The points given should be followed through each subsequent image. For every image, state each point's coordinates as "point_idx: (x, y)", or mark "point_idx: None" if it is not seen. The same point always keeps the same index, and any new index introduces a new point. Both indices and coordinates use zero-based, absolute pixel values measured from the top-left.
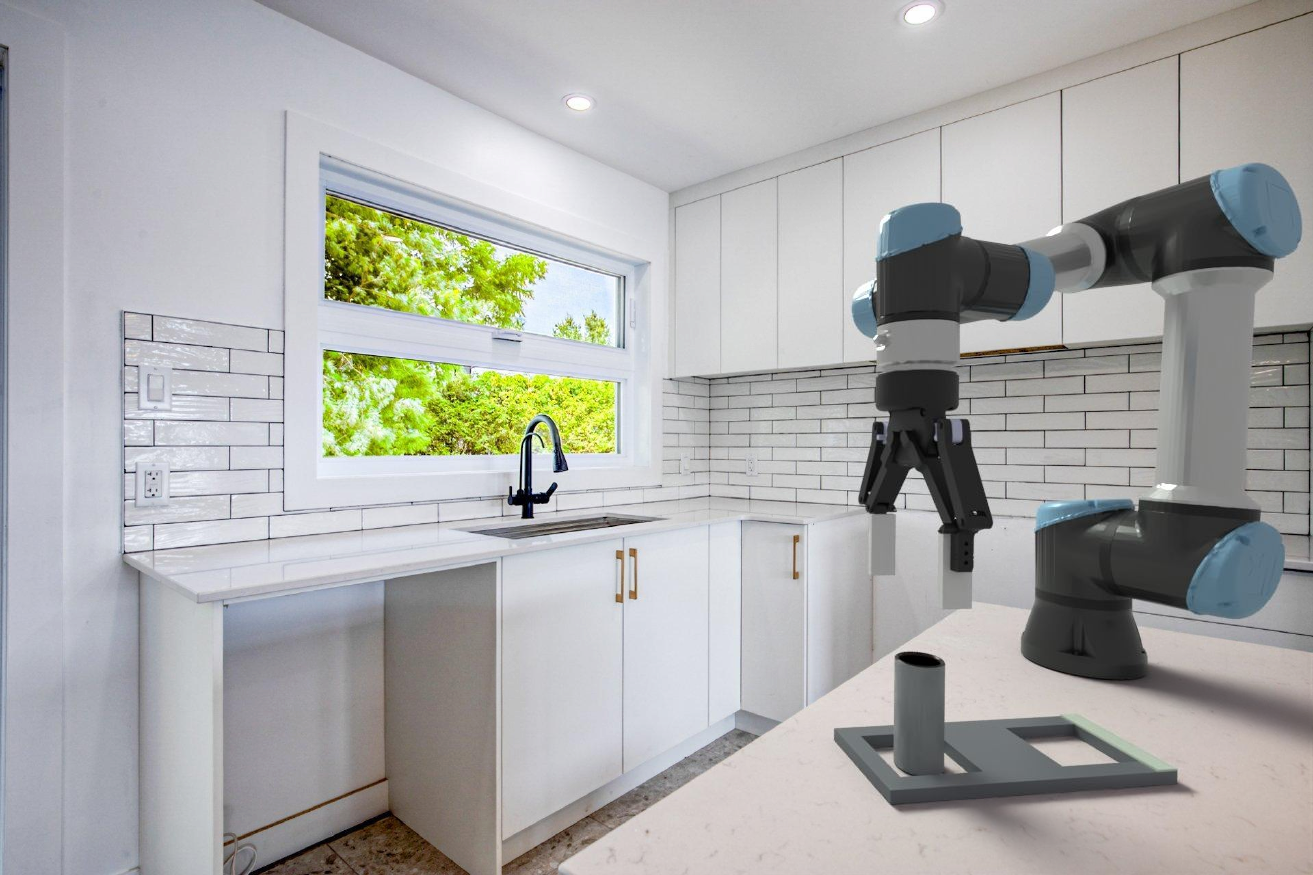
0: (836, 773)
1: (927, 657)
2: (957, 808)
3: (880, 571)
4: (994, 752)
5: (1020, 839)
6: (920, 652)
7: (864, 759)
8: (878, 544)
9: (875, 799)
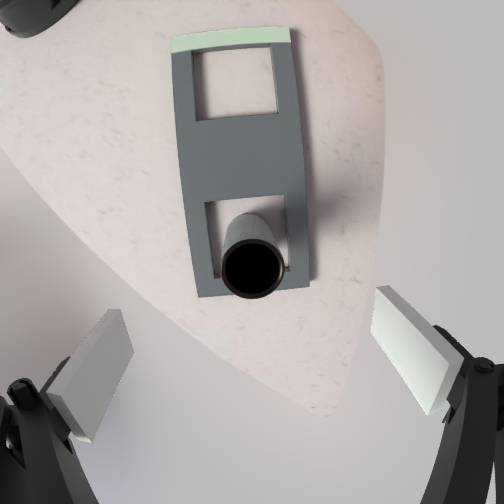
0: (259, 307)
1: (234, 250)
2: (316, 233)
3: (126, 340)
4: (250, 162)
5: (356, 208)
6: (224, 257)
7: None
8: (109, 380)
9: (299, 290)
